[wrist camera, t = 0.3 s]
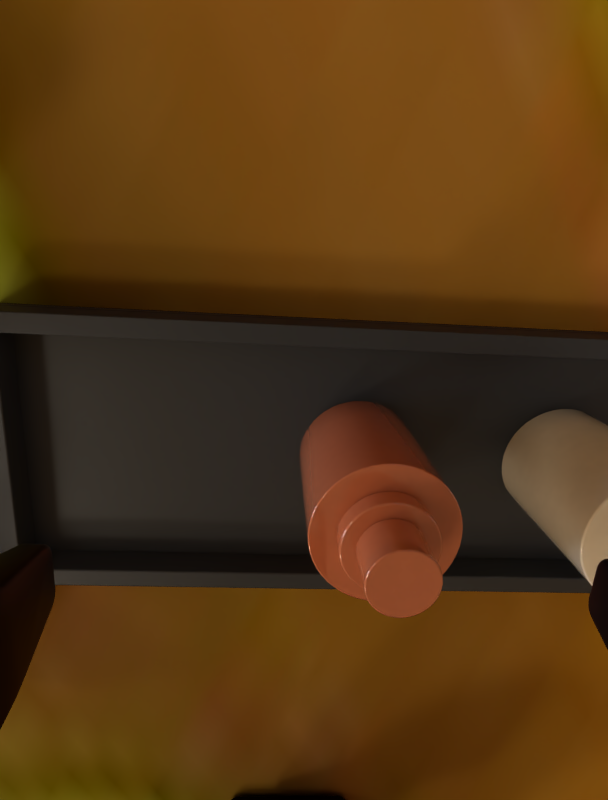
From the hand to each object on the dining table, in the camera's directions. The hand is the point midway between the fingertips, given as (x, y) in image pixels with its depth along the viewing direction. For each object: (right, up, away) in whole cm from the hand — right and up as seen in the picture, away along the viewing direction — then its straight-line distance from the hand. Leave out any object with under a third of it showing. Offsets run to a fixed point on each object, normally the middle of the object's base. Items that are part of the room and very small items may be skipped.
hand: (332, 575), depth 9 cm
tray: (+2, +1, +15) cm, 15 cm away
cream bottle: (+11, 0, +15) cm, 18 cm away
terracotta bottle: (+2, 0, +14) cm, 15 cm away
